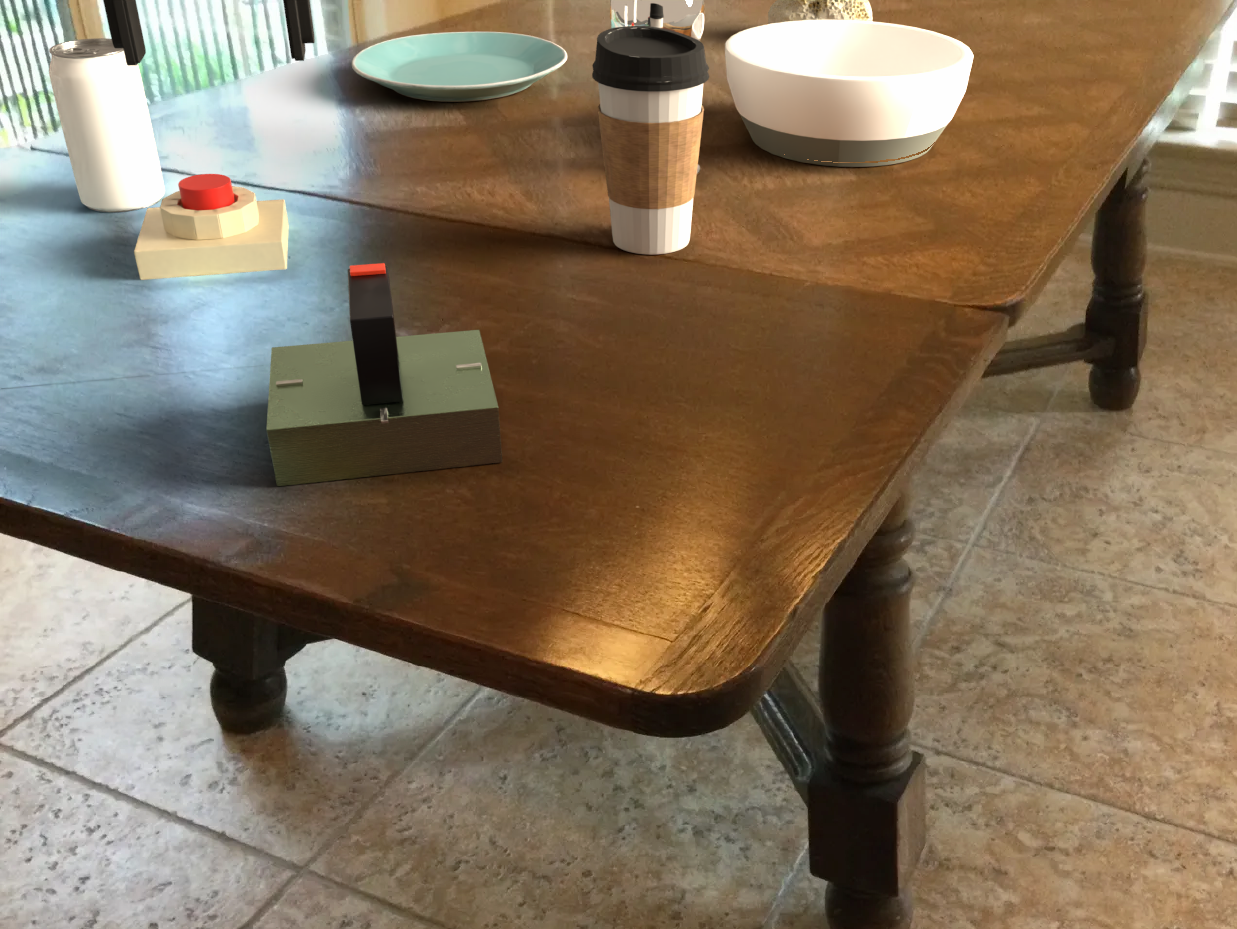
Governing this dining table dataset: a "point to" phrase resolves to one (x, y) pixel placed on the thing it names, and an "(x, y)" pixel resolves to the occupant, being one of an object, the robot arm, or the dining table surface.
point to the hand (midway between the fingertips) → (218, 57)
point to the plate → (459, 64)
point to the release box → (213, 238)
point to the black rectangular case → (374, 334)
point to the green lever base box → (381, 411)
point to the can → (106, 126)
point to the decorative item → (819, 10)
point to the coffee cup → (650, 133)
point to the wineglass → (661, 17)
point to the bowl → (845, 89)
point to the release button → (206, 192)
